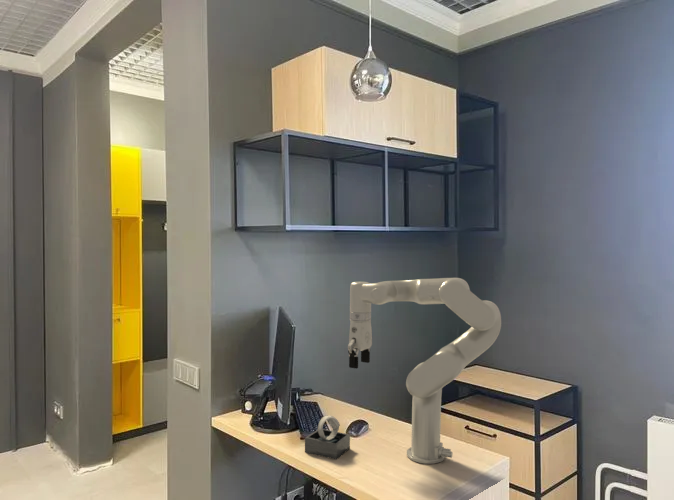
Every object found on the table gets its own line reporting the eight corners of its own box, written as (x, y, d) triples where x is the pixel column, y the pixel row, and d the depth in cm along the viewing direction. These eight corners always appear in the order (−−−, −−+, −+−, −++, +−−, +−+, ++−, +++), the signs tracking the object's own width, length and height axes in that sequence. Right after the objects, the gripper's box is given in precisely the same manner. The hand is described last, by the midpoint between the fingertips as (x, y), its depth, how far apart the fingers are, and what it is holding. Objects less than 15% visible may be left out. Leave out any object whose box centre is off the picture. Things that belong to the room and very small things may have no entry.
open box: (349, 448, 178) (350, 434, 178) (336, 459, 169) (336, 444, 169) (319, 442, 184) (319, 428, 184) (304, 452, 175) (305, 437, 175)
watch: (342, 447, 177) (342, 415, 177) (324, 453, 171) (325, 421, 171) (331, 442, 181) (331, 411, 181) (313, 448, 175) (314, 416, 175)
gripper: (359, 320, 172) (358, 371, 172) (379, 314, 188) (378, 361, 188) (339, 319, 176) (338, 368, 176) (360, 313, 191) (360, 359, 191)
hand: (359, 365), depth 182 cm, fingers open, 9 cm apart
